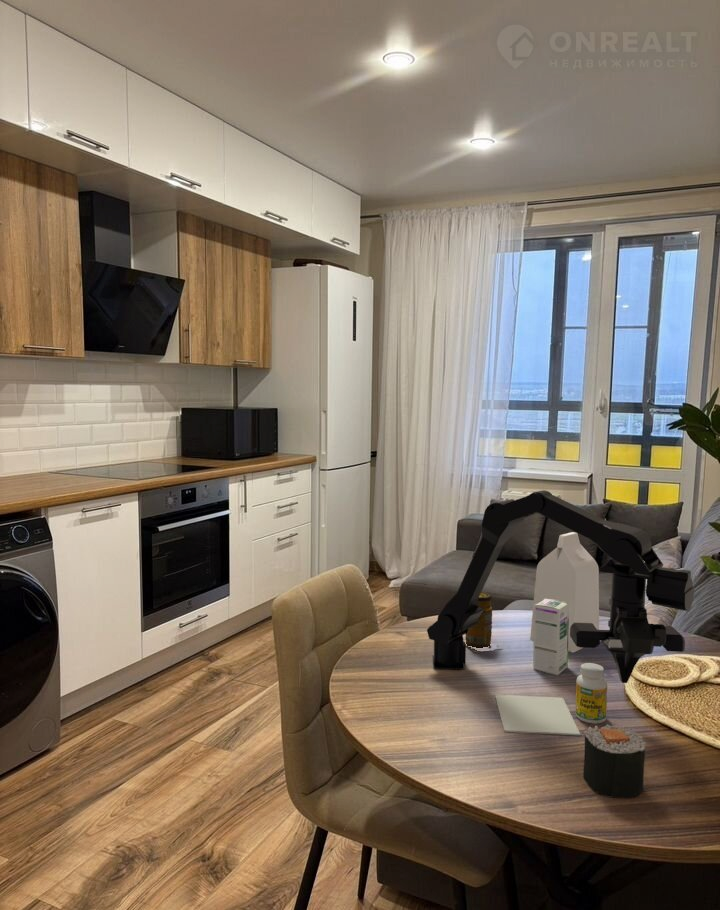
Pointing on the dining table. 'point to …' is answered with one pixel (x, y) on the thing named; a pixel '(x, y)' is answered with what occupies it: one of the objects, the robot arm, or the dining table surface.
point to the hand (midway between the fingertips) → (623, 682)
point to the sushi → (614, 761)
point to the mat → (535, 715)
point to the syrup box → (551, 636)
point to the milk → (569, 582)
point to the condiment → (481, 625)
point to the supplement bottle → (591, 694)
